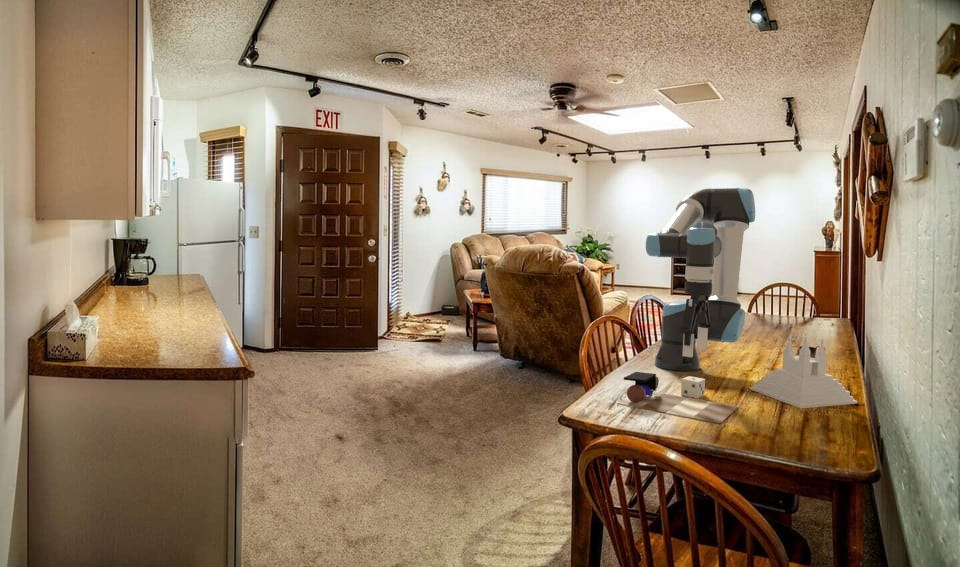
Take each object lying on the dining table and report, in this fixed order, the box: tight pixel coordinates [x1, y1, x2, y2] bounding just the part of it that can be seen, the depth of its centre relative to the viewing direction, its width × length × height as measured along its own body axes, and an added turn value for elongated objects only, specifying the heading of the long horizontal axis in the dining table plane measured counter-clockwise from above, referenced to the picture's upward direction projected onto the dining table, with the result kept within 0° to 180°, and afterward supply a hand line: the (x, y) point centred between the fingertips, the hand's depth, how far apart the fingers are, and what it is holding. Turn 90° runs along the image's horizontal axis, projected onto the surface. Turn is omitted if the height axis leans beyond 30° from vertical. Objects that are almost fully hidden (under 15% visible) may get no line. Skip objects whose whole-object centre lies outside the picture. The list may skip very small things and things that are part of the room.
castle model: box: [749, 333, 858, 409], centre depth 184 cm, size 20×20×18 cm
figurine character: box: [623, 371, 660, 403], centre depth 178 cm, size 7×8×15 cm
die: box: [680, 375, 706, 399], centre depth 183 cm, size 5×5×5 cm
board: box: [616, 391, 739, 425], centre depth 172 cm, size 18×28×1 cm, turn 54°
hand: (694, 352), depth 182 cm, fingers open, 13 cm apart
